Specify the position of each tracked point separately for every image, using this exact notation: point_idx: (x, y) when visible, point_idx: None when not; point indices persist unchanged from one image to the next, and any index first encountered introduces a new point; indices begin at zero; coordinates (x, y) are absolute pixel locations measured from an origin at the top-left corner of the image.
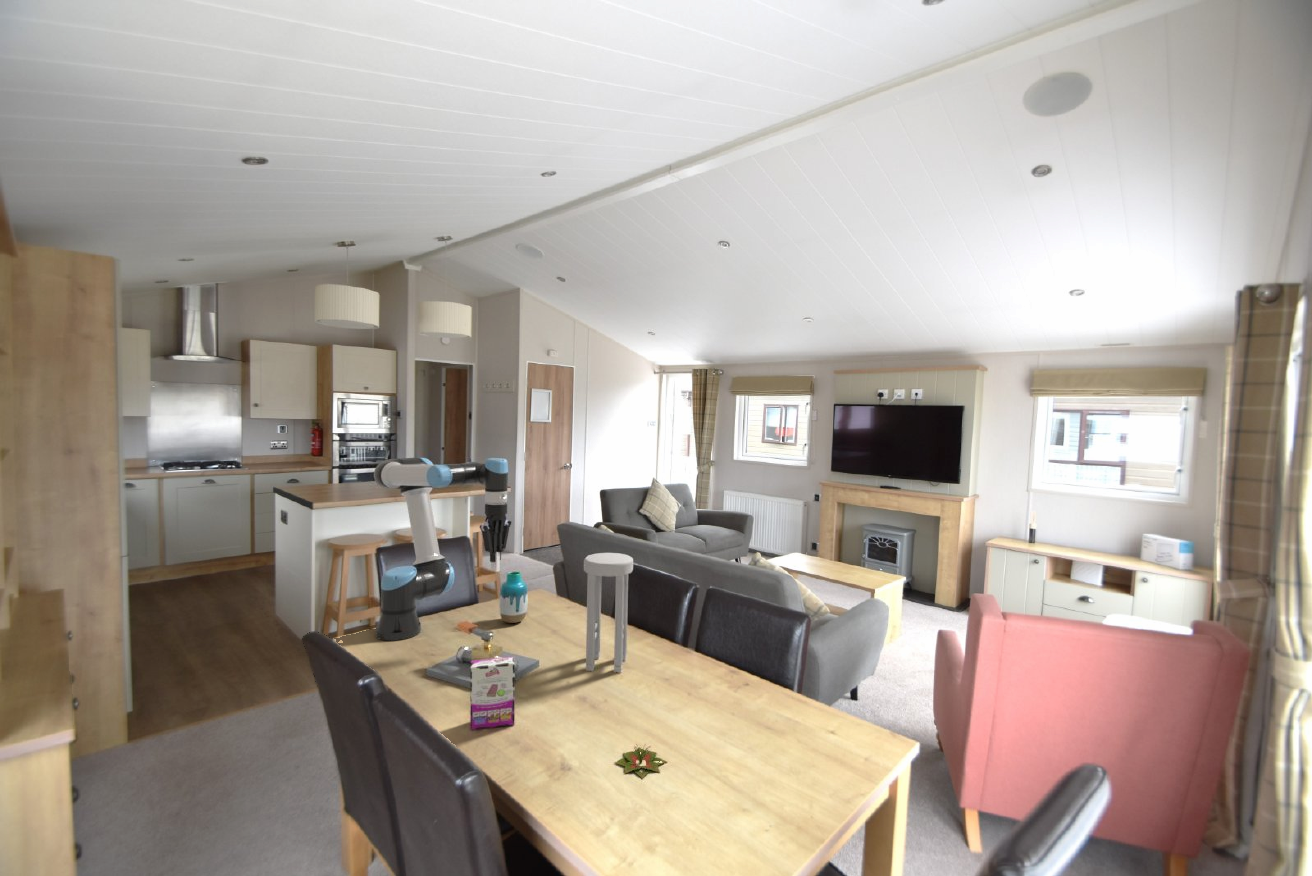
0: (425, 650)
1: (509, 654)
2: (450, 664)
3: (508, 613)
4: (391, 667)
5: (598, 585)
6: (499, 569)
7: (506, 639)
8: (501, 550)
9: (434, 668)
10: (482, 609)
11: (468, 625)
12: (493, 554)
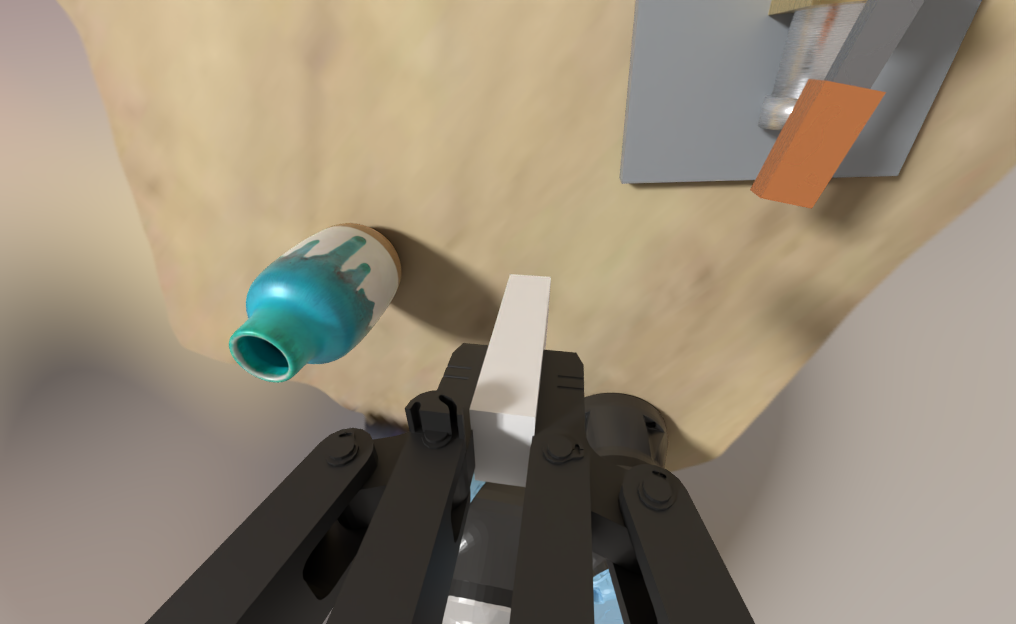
0: (682, 313)
1: None
2: None
3: (388, 260)
4: (832, 305)
5: None
6: (511, 280)
7: (488, 164)
8: (448, 416)
9: (890, 151)
10: (375, 378)
11: (832, 133)
12: (574, 426)
